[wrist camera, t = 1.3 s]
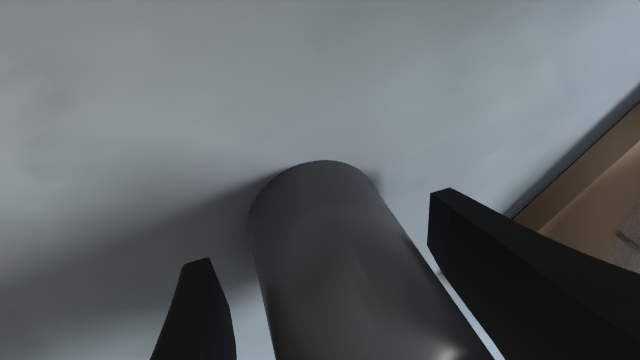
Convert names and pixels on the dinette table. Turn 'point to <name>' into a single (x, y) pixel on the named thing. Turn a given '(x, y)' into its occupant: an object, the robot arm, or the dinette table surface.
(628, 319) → the robot arm
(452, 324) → the dark rounded capsule
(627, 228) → the white faceted ring
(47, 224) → the dinette table surface
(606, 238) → the walnut board
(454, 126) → the dinette table surface
